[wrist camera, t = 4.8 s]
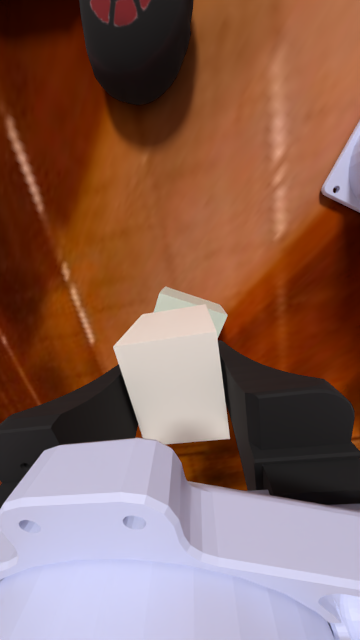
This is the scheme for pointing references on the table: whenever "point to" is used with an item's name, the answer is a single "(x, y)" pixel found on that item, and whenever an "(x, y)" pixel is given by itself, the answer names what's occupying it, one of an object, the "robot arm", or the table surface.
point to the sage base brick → (189, 305)
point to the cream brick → (175, 376)
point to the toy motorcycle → (136, 45)
